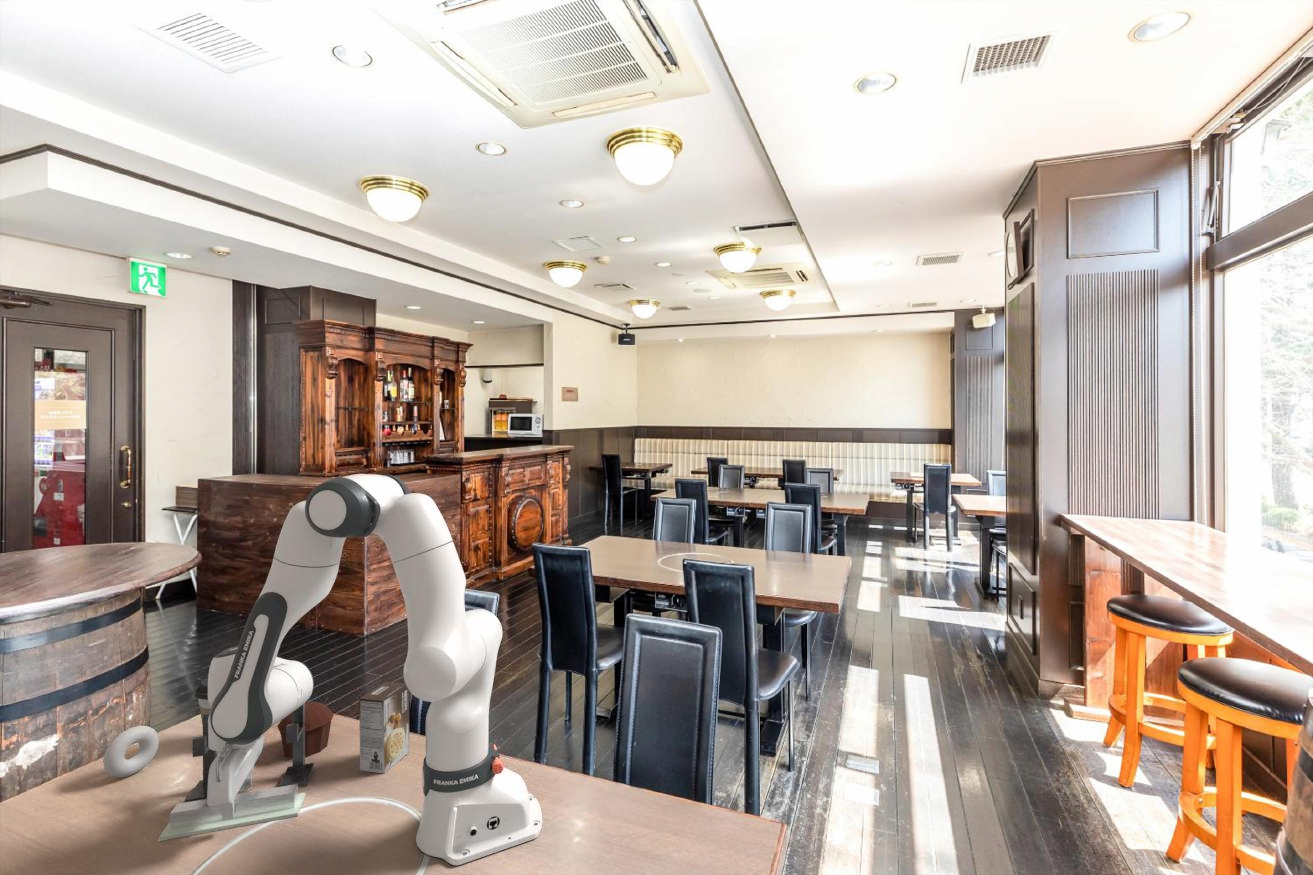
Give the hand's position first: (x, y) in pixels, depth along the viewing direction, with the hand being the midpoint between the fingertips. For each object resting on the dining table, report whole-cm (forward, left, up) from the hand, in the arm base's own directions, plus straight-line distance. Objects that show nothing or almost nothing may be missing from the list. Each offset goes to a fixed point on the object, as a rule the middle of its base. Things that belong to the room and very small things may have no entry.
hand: (237, 802), depth 116 cm
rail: (0, 0, -2) cm, 2 cm away
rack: (0, -9, -3) cm, 9 cm away
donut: (+26, -24, -3) cm, 36 cm away
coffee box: (-25, -12, -3) cm, 28 cm away
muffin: (-7, -24, -3) cm, 25 cm away
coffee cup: (+12, -34, -3) cm, 36 cm away
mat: (0, 0, -3) cm, 3 cm away
